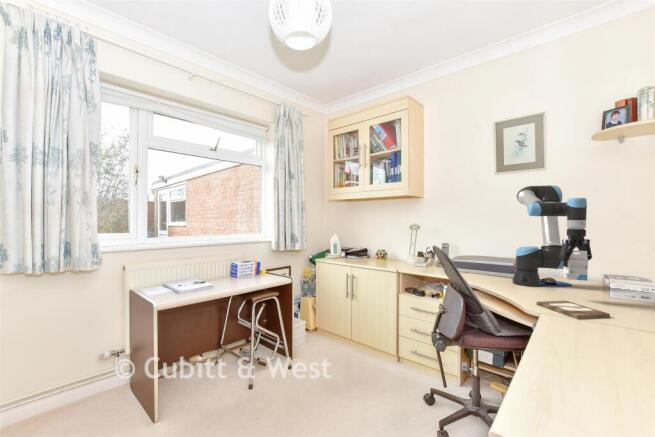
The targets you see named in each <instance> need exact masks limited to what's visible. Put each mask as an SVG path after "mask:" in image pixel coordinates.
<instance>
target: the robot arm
mask: <svg viewBox="0 0 655 437" xmlns="http://www.w3.org/2000/svg"><path fill="white" fill-rule="evenodd" d="M516 199H517V201H518V203H520V204H522V205H524V206H525V207H526V208H527V209H526V210H527V215H528V216H529V217H540V223H541V224H540V225H541V233H542V234H541V235H542V245H541V246H540V248H539V246H532V245H531V246H520V247H517V248H516V249H515V271H514V275H513V277H512V279H511V282H513V284H514V283H515V285H520V286H524V287H541V286H542V280H541V279H540V275H539V269H554V270H563V274H564V273H567V274H570V261H569V258H570V256H571V254H572V252H573V250H575V249H576V248H577V251H587V257H588V261H591V259H593V254H592V248H591V240H590V239H588V238H585V237H586V236H587V230H586V228H587V210H588V209H587V208H588V204H587V203H588V202H587V198H585V197H570V198H568V199H567V201H566V202H565V201H564V202H562V201H563V192H562V189H561V187H560V186H557V185H552V184H551V185H528V186H525V187H522V188H521V189H520V190H519V191H518V192H517V194H516ZM559 217H566V228H567V229H566V236H567V239H565V238H564V239H562V240H561V234H560V227H559ZM561 242H562V244H561ZM567 250H568V251H567Z"/></svg>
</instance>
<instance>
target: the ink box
mask: <svg viewBox="0 0 655 437" xmlns="http://www.w3.org/2000/svg"><path fill="white" fill-rule="evenodd" d="M567 251H568V250H567ZM569 261H570V274H567V273H564V272H563V277H564V279H566V280H575V281H588V270H589V269H588V267H589V260H588V257H587V251H579V250H578V249H577V250H575V249H574V250H573V252H572V254H571V256H570V258H569Z"/></svg>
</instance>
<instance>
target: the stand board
mask: <svg viewBox="0 0 655 437" xmlns="http://www.w3.org/2000/svg"><path fill="white" fill-rule="evenodd" d="M535 304H536V305H537V306H539V307H541V308H545V309H547V310H549V311H550V310H551V311H553V312H556V313H558V314H561V315H564V316H567V317H570V318H572V317H573V318H572V319H576V320H585V319H603V318H606V319H607V318H611V313H608V312H606V311H602V310H598V309H595V308H592V307H589V306H585V305H582V304H579V303H575V302H571V301H569V300H565V299H564V300H544V301H536V303H535Z"/></svg>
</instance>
